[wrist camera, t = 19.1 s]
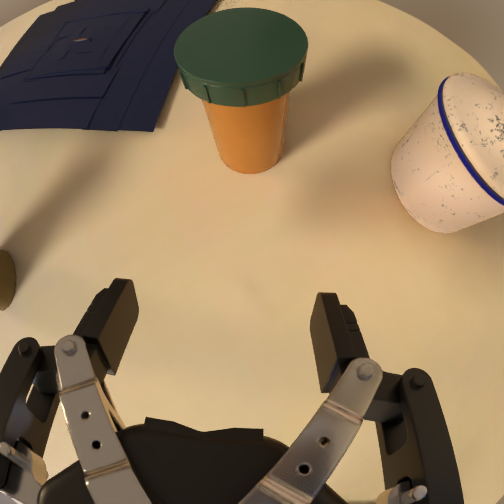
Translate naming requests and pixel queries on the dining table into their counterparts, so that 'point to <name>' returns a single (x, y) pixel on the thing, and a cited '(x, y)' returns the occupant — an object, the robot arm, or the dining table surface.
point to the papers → (95, 65)
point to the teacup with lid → (454, 157)
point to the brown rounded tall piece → (6, 279)
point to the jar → (249, 134)
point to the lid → (241, 56)
